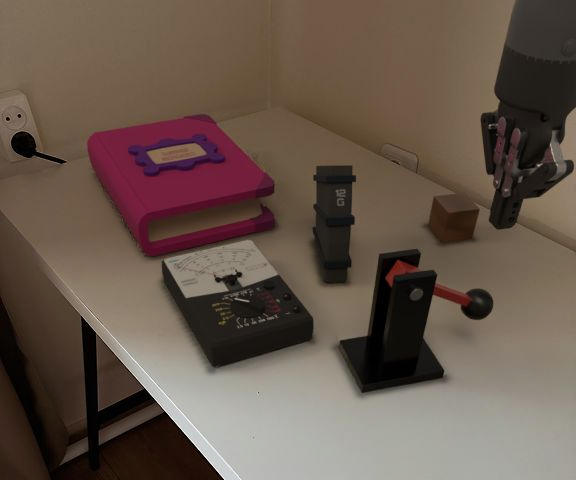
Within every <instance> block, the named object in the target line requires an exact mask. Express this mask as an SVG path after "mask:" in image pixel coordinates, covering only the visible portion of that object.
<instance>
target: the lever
mask: <svg viewBox="0 0 576 480" xmlns="http://www.w3.org/2000/svg"><path fill="white" fill-rule="evenodd" d="M419 271H421V270H420V269H419V267H418V268H417V267H415V266H413V265H410V264H407V263H405V262H402V261H399V260H397V262H396V263H395V265H394V266H393V267H392V269H391V270H390V272H389V273H388V275H387V276H386V277H385V278H386V280H387V281H388V283H389V285H390V286H391V288H392V283H393V277H394V275H399V274H406V273H412V272H419ZM433 296H434V297H438V298H441V299H443V300H447V301H449V302H451V303H455V304H457V305H460V309H461V312H462V314H463V315H464V316H465V317H466V318H467V319H469V320H473V321H480V320H483V319H486V318H487V317H489V315H491V313H492V312H493V309H494V305H495V303H494V298H493V296H492V294H491V293H490V292H489V291H487V289H484V288H479V287H475V288H472V289H469V290H467V291H466V292H465V293H464V292H462V291H459V290H456V289H455V288H450V287H448V286H446V285H443V284H440V283H437V282H436V284H435V288H434V292H433Z"/></svg>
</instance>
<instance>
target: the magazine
mask: <svg viewBox="0 0 576 480" xmlns="http://www.w3.org/2000/svg"><path fill="white" fill-rule="evenodd" d="M312 178H313V179H312V181H314V182H316V183H315V187H316V188H315V194H316V195H315V196H316V197H315V203H313V205H312V209H313V210H314V212H315V225H314V226H312V230H311V231H312V234H313V237H314V244H315V247H316V248H315V249H316V251H317V257H318V260H319V264H320V268H321V273H322V277H323V281H324V283H326V284H332V283H333V284H334V283H336V284H337V283H346V282H347V280H348V270H349V269H352V267H353V259H352V257H351V255H350V247H351V234H352V233H351V232H352V226H355V224H356V216H354V215H353V213H352V212H353V209H352V208H353V183H356V182H357V175H356V174H353V164H352V165H350V164H349V165H347V164H345V165H343V164H342V165H341V164H340V165H339V164H338V165H336V164H335V165H315V174H313V175H312Z"/></svg>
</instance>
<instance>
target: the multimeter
mask: <svg viewBox="0 0 576 480" xmlns="http://www.w3.org/2000/svg"><path fill="white" fill-rule="evenodd" d="M161 274H162V278H163V282H164V284H165V285H166V287H167V289H168V291H169V293H170V295H171V296H172V298H173V299H174V301H175V303H176V305H177V307H178V309H179V310H180V312H181V313H182V315H183V317H184V319H185V321H186V322H187V324H188V326H189V328H190V330H191V331H192V333H193V335H194V337H195V338H196V340H197V342H198V343H199V345H200V347H201V349H202V350H203V352H204V354H205V356H206V358H207V359H208V361H209V363H210V365H211V366H213V367H220V366H224V365H227V364H231V363H234V362H237V361H241V360H244V359H248V358H251V357H254V356H257V355H261V354H264V353H268V352H272V351H275V350H278V349H282V348H285V347H289V346H292V345H295V344H298V343H302V342H305V341H308V340H310V339H312V338H313V335H314V330H315V329H314V316H313V315H312V314H311V313H310V312H309V310H308V309H307V308H306V306H304V304H303V303H302V301H300V299H299V297H298V296H297V295H296V294H295V293H294V291H293V290H292V288H291V287H290V286H289V285H288V284H287V282H286V281H285V280H284V279H283V277H282V276H281V275H280V273H278V271H277V270H276V269H275V268H274V266H273V265H272V263H271V262H270V261H269V260H268V258H266V256H265V254H263V252H262V251H261V250H260V248H259V247H258V246H257V245H256V244H255V242H254V241H253V240H252V239H246V240H241V241H237V242H232V243H228V244H224V245H219V246H216V247H211V248H206V249H202V250H198V251H193V252H189V253H185V254H180V255H176V256H172V257H167V258H165V259H163V260H162V261H161Z"/></svg>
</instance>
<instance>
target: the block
mask: <svg viewBox="0 0 576 480" xmlns="http://www.w3.org/2000/svg"><path fill="white" fill-rule="evenodd" d="M480 210H481V208H480V207H479V206H478V205H477V204H476V203H475V202H474V201H473V200H472V199H471V198H470V197H469V196H468V195H467V194H466V192H458V193H450V194H441V195H433V199H432V203H431V209H430V214H429V218H428V223H427V227H428V228H429V230H431V232H432V233H433V234H434V235H435V237H436V238H437V239H438V240H439V241H440V243H441V244H446V243H452V242H453V243H454V242H460V241H467V240H472V239H473V238H474V234H475V230H476V226H477V221H478V218H479V214H480Z"/></svg>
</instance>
